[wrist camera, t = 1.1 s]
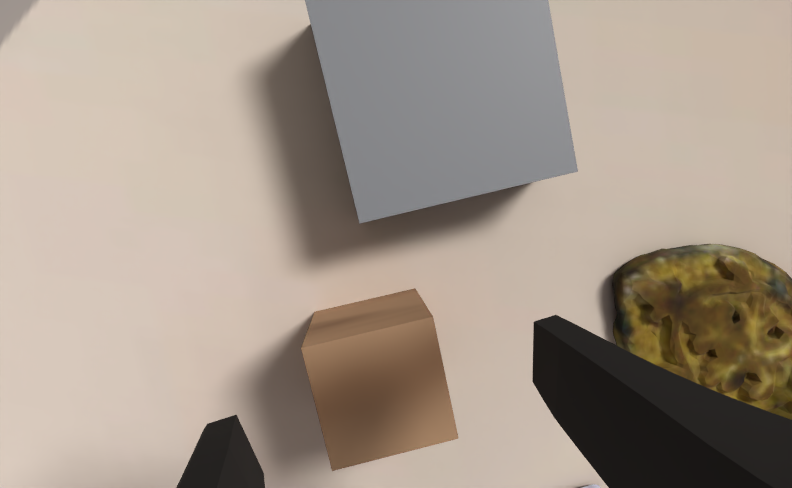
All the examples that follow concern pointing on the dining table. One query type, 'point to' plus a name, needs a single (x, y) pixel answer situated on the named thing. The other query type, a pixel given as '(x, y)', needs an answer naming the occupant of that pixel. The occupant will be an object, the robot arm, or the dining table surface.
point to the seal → (711, 320)
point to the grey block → (442, 98)
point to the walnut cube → (378, 379)
